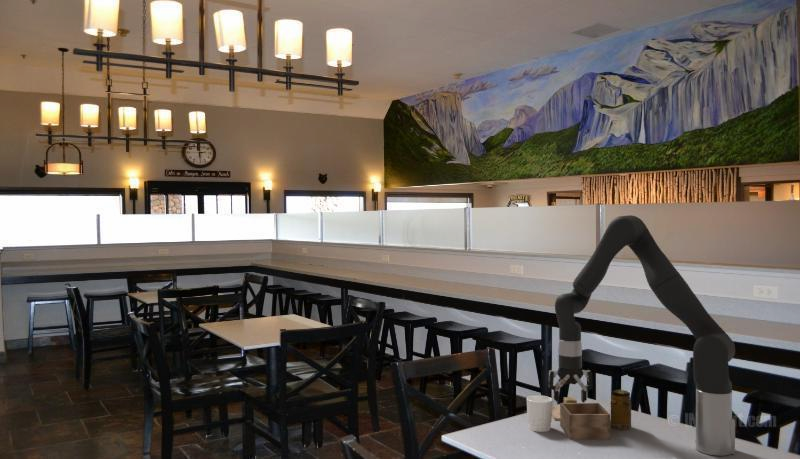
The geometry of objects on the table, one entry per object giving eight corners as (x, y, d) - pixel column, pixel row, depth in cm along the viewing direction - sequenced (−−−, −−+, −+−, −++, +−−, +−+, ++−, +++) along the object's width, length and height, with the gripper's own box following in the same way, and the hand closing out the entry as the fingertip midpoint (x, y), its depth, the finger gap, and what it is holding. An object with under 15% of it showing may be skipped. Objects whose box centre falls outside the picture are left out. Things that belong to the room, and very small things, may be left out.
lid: (584, 411, 222) (584, 393, 222) (595, 423, 209) (595, 404, 209) (546, 411, 223) (546, 393, 223) (554, 424, 210) (554, 404, 210)
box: (598, 428, 204) (598, 403, 204) (610, 441, 192) (610, 414, 192) (560, 428, 204) (560, 403, 204) (569, 441, 192) (569, 414, 192)
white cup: (557, 432, 200) (557, 400, 200) (535, 436, 197) (535, 403, 197) (542, 425, 207) (542, 394, 207) (521, 428, 205) (521, 396, 204)
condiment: (617, 425, 207) (617, 387, 207) (642, 431, 201) (642, 393, 201) (604, 429, 203) (604, 391, 203) (629, 436, 196) (629, 397, 196)
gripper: (550, 355, 212) (551, 405, 212) (594, 355, 212) (595, 405, 212) (546, 350, 220) (546, 398, 220) (588, 350, 219) (588, 398, 220)
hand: (570, 401), depth 216 cm, fingers open, 8 cm apart
